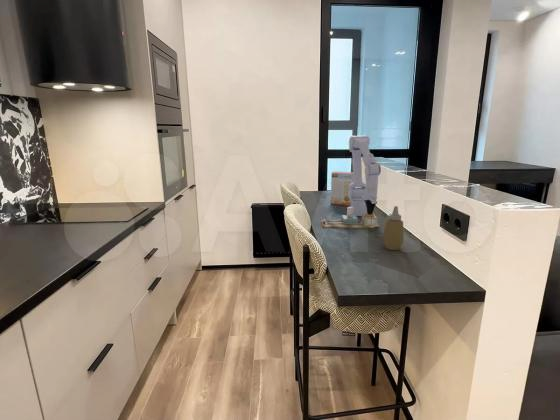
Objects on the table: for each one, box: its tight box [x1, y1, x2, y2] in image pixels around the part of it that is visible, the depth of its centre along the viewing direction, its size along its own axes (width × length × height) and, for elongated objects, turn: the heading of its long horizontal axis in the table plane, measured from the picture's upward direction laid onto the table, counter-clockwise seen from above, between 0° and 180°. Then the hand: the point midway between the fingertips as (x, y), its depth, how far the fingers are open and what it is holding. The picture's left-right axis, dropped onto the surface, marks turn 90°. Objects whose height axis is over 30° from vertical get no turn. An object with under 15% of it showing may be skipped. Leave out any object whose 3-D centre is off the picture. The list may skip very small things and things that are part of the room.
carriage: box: [341, 206, 359, 224], centre depth 166 cm, size 7×7×8 cm
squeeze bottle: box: [382, 205, 405, 251], centre depth 133 cm, size 8×8×18 cm
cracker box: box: [330, 170, 356, 207], centre depth 207 cm, size 14×6×21 cm, turn 58°
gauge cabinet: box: [361, 213, 378, 226], centre depth 166 cm, size 6×8×5 cm
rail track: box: [321, 218, 380, 229], centre depth 167 cm, size 28×9×3 cm, turn 87°
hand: (369, 214), depth 165 cm, fingers closed, pressing on reset button
